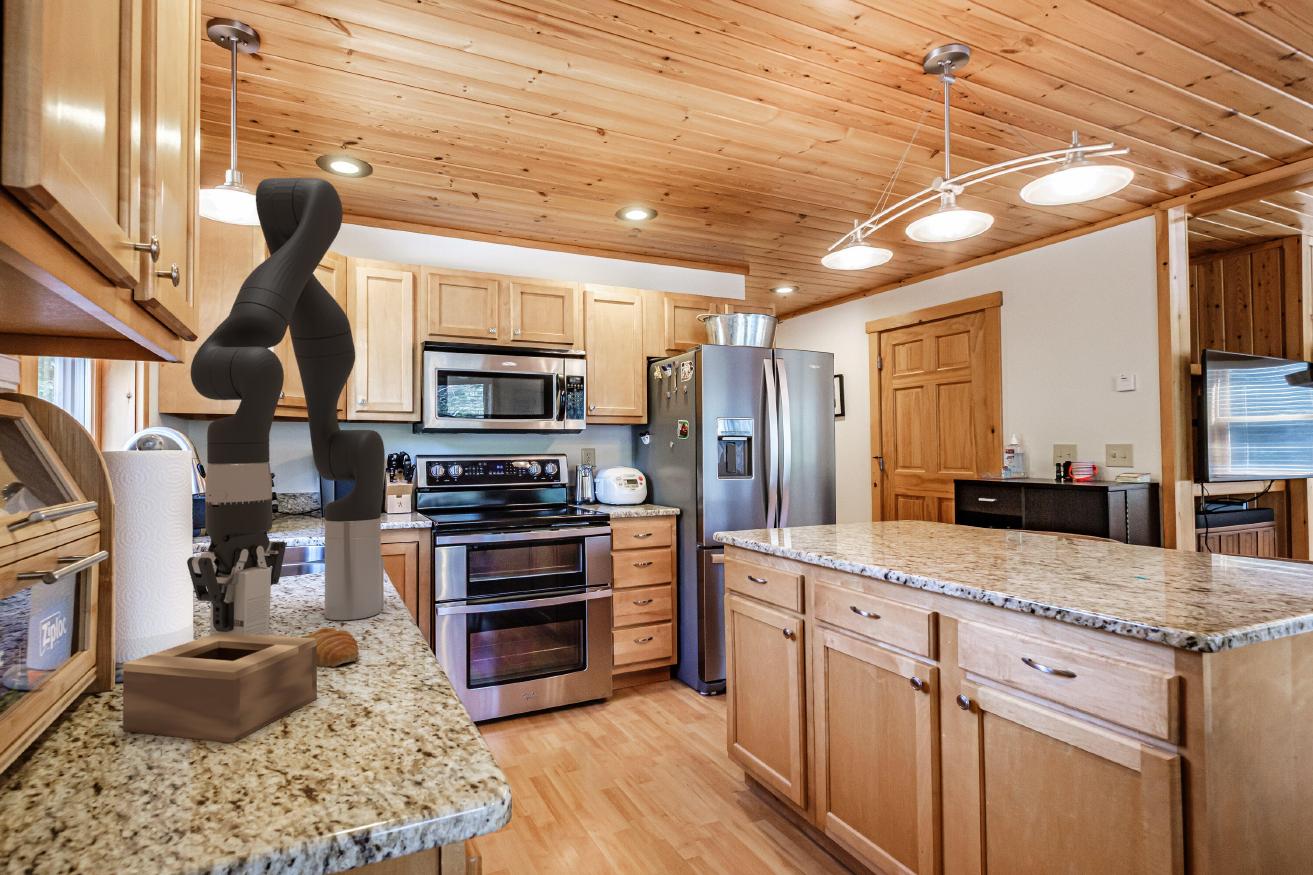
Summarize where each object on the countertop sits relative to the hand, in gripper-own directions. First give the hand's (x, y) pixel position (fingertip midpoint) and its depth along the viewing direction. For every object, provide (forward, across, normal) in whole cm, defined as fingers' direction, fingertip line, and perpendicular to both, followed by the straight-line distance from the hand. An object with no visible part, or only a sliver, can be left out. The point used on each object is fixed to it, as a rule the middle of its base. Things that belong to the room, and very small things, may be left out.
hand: (240, 624), depth 88 cm
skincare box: (+5, 0, 0) cm, 5 cm away
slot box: (+6, +11, +9) cm, 16 cm away
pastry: (+7, -9, +7) cm, 13 cm away
